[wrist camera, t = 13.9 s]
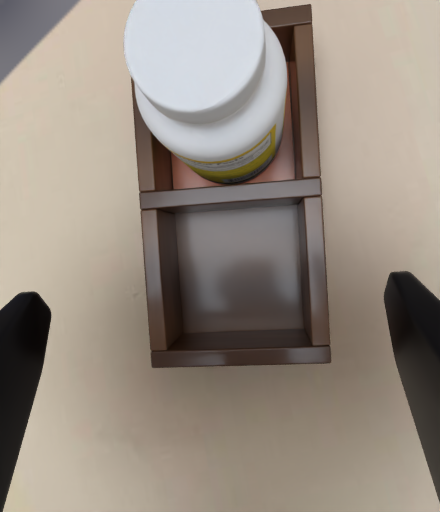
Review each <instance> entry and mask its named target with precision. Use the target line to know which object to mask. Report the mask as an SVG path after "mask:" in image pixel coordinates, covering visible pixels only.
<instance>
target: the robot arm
mask: <svg viewBox="0 0 440 512" xmlns="http://www.w3.org/2000/svg"><path fill="white" fill-rule="evenodd" d="M384 303H385V309H386V314H387V320H388V325H389V330H390V336H391V341H392V347H393V352H394V357H395V361H396V365H397V368H398V371H399V375H400V378H401V381H402V384H403V387H404V391H405V394H406V397H407V400H408V403H409V406H410V410H411V413H412V416H413V419H414V422H415V426H416V429H417V432H418V435H419V438H420V441H421V445H422V448H423V451H424V454H425V457H426V461H427V464H428V467H429V470H430V473H431V476H432V480H433V483H434V486H435V489H436V492H437V496H438V499H439V502H440V300H439V299H438V298H437V297H436V296H435V295H434V294H432V293H431V292H430V291H429V290H428V289H427V288H426V287H425V286H424V285H423V284H422V283H421V282H420V281H419V280H418V279H417V278H416V277H415V276H414V275H413V274H412V273H410V272H408V271H400V272H392V273H390V275H389V278H388V281H387V285H386V288H385V292H384ZM50 322H51V311H50V308H49V307H48V306H47V304H46V303H45V302H44V300H43V299H42V298H41V297H40V295H39V294H38V293H37V292H21V293H19V294H18V295H16V296H15V297H14V298H13V299H12V300H11V301H10V302H9V303H8V304H7V305H5V306H4V307H3V308H2V309H1V310H0V512H3V508H4V505H5V501H6V498H7V494H8V491H9V487H10V484H11V480H12V476H13V473H14V469H15V466H16V462H17V459H18V455H19V452H20V448H21V444H22V441H23V437H24V434H25V430H26V427H27V423H28V419H29V416H30V412H31V409H32V405H33V402H34V398H35V395H36V391H37V387H38V384H39V380H40V377H41V373H42V369H43V364H44V358H45V352H46V346H47V340H48V334H49V328H50Z"/></svg>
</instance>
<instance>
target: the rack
mask: <svg viewBox="0 0 440 512" xmlns="http://www.w3.org/2000/svg"><path fill="white" fill-rule="evenodd" d="M261 13H262V17H263V20H264V21H265V22H266V23H267V24H268V25H269V27H270V28H271V29H272V30H273V32H274V33H275V35H276V37H277V38H278V40H279V42H280V45H281V47H282V50H283V53H284V56H285V61H286V67H287V92H286V102H285V114H284V126H283V134H282V139H281V144H280V147H279V150H278V152H277V154H276V156H275V158H274V159H273V161H272V162H271V164H270V165H269V166H268V167H267V168H266V169H265V170H264V171H263V172H262V173H261V174H259V175H258V176H256V177H255V178H253V179H251V180H249V181H246V182H243V183H239V184H230V185H227V184H219V183H215V182H211V181H209V180H206V179H204V178H202V177H201V176H199V175H198V174H197V173H195V172H194V171H193V170H192V169H190V168H189V167H188V166H187V165H186V164H185V163H183V162H182V161H181V160H180V159H179V158H178V157H177V156H175V155H174V154H173V153H172V152H171V151H170V150H168V149H167V148H166V147H165V146H164V145H163V144H162V143H161V142H160V141H159V140H158V139H157V138H156V137H155V136H154V135H153V133H152V132H151V131H150V129H149V128H148V127H147V125H146V123H145V122H144V120H143V118H142V116H141V113H140V111H139V108H138V104H137V100H136V95H135V84H134V80H133V79H132V77H131V83H132V97H133V111H134V125H135V139H136V153H137V167H138V181H139V191H140V193H139V197H140V209H141V224H142V238H143V252H144V266H145V280H146V294H147V308H148V322H149V336H150V349H151V364H152V368H171V367H209V366H247V365H286V364H324V363H331V347H330V328H329V310H328V293H327V275H326V257H325V240H324V222H323V204H322V196H321V195H322V186H321V178H320V176H321V170H320V152H319V134H318V117H317V99H316V81H315V64H314V46H313V28H312V9H311V4H308V5H301V6H293V7H286V8H279V9H271V10H264V11H261Z"/></svg>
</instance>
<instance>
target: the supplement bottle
mask: <svg viewBox="0 0 440 512" xmlns="http://www.w3.org/2000/svg"><path fill="white" fill-rule="evenodd" d="M124 55H125V59H126V63H127V67H128V70H129V73H130V75H131V77H132V79H133V80H134V84H135V95H136V100H137V104H138V108H139V111H140V113H141V116H142V118H143V120H144V122H145V123H146V125H147V127H148V128H149V129H150V131H151V132H152V133H153V135H154V136H155V137H156V138H157V139H158V140H159V141H160V142H161V143H162V144H163V145H164V146H165V147H166V148H167V149H168V150H170V151H171V152H172V153H173V154H174V155H175V156H177V157H178V158H179V159H180V160H181V161H182V162H183V163H185V164H186V165H187V166H188V167H189V168H190V169H192V170H193V171H194V172H195V173H197V174H198V175H199V176H201V177H202V178H204V179H206V180H209V181H211V182H215V183H219V184H227V185H230V184H239V183H243V182H246V181H249V180H251V179H253V178H255V177H256V176H258V175H259V174H261V173H262V172H263V171H264V170H265V169H266V168H267V167H268V166H269V165H270V164H271V162H272V161H273V159H274V158H275V156H276V154H277V152H278V150H279V147H280V144H281V139H282V134H283V126H284V114H285V102H286V92H287V67H286V61H285V56H284V53H283V50H282V47H281V45H280V42H279V40H278V38H277V37H276V35H275V33H274V32H273V30H272V29H271V28H270V27H269V25H268V24H267V23H266V22H265V21H264V20H263V17H262V13H261V10H260V7H259V5H258V3H257V1H256V0H136V2H135V3H134V5H133V7H132V9H131V11H130V14H129V17H128V19H127V23H126V26H125V32H124Z"/></svg>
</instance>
